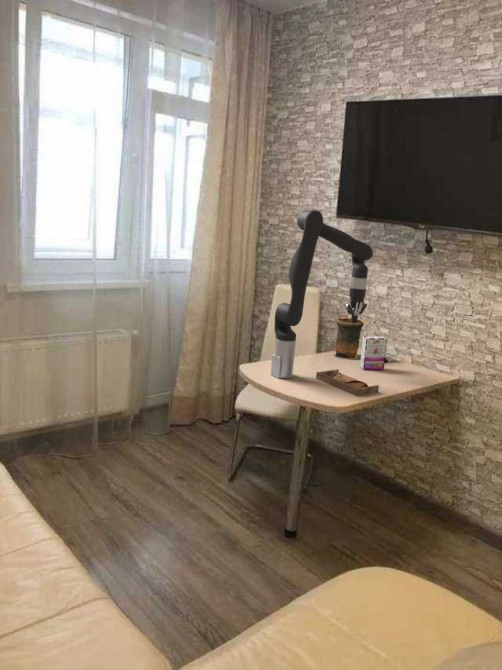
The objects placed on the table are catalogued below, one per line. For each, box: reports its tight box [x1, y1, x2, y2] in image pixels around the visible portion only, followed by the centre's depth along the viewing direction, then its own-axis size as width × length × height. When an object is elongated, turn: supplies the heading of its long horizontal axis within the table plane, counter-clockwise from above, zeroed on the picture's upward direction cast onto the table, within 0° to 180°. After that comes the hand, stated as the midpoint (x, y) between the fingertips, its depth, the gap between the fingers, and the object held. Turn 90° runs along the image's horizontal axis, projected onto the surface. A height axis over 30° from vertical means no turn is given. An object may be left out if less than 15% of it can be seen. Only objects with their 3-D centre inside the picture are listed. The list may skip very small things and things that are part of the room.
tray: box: [315, 368, 380, 397], centre depth 246 cm, size 13×26×3 cm, turn 35°
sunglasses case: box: [332, 371, 369, 388], centre depth 246 cm, size 18×7×7 cm, turn 37°
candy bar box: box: [359, 335, 388, 371], centre depth 274 cm, size 11×5×16 cm, turn 101°
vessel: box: [333, 317, 365, 361], centre depth 295 cm, size 14×14×20 cm
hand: (353, 323), depth 264 cm, fingers closed
